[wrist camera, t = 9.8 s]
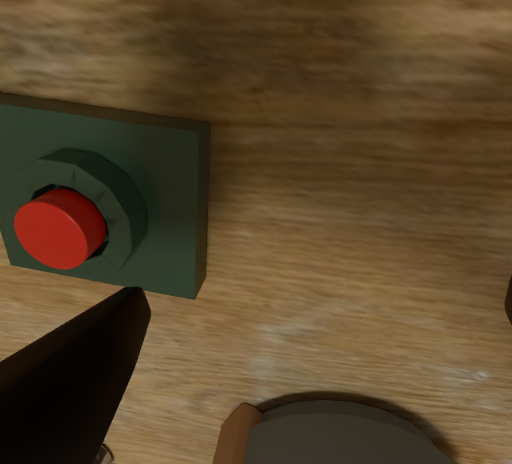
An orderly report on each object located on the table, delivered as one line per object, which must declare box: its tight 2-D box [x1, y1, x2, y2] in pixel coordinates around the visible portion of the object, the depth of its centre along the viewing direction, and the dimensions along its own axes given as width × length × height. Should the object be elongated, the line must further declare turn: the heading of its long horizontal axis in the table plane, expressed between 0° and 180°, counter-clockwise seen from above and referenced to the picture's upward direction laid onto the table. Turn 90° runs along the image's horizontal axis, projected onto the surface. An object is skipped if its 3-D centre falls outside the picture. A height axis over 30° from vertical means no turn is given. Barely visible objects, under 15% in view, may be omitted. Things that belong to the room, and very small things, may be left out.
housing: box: [0, 93, 211, 300], centre depth 19 cm, size 12×10×4 cm
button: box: [14, 188, 106, 269], centre depth 17 cm, size 4×4×2 cm
